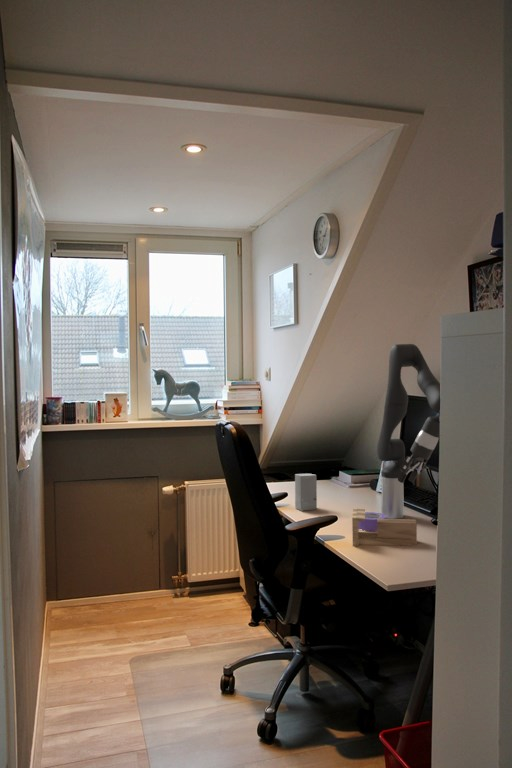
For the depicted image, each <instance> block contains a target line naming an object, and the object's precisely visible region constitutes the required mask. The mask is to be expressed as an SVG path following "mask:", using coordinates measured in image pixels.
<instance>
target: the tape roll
mask: <svg viewBox="0 0 512 768" xmlns="http://www.w3.org/2000/svg"><path fill="white" fill-rule="evenodd" d="M377 519H387V518H386V515H384V514H382V512H375V511H365V521H359V530H360V529H362V530H361V531H364V530H367V531H366V532H377Z"/></svg>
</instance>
